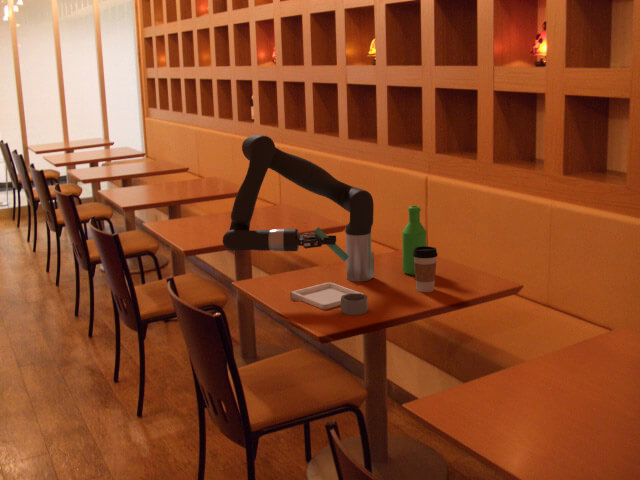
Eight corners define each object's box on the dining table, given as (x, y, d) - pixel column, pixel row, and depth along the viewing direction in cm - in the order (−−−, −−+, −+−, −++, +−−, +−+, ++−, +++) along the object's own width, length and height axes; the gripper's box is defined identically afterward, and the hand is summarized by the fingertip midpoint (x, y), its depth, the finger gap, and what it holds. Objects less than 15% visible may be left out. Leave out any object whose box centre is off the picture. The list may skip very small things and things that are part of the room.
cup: (356, 307, 256) (355, 291, 254) (372, 314, 249) (372, 297, 248) (336, 313, 251) (336, 297, 250) (352, 319, 245) (352, 303, 243)
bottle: (426, 269, 297) (426, 204, 291) (426, 275, 288) (426, 208, 282) (402, 269, 298) (402, 204, 292) (402, 275, 289) (402, 209, 283)
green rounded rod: (346, 257, 262) (316, 228, 261) (349, 255, 260) (319, 226, 258) (342, 262, 261) (312, 233, 259) (345, 260, 259) (315, 231, 257)
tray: (330, 288, 277) (329, 281, 276) (364, 301, 262) (364, 294, 261) (290, 298, 267) (290, 291, 266) (324, 312, 252) (323, 305, 252)
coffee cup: (422, 294, 266) (422, 252, 263) (408, 288, 274) (407, 246, 270) (442, 290, 270) (442, 248, 267) (428, 284, 277) (428, 243, 274)
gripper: (280, 233, 253) (334, 233, 252) (286, 224, 267) (337, 224, 265) (281, 256, 255) (334, 256, 253) (286, 246, 268) (337, 245, 267)
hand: (335, 239), depth 259 cm, fingers closed on green rounded rod, 2 cm apart
